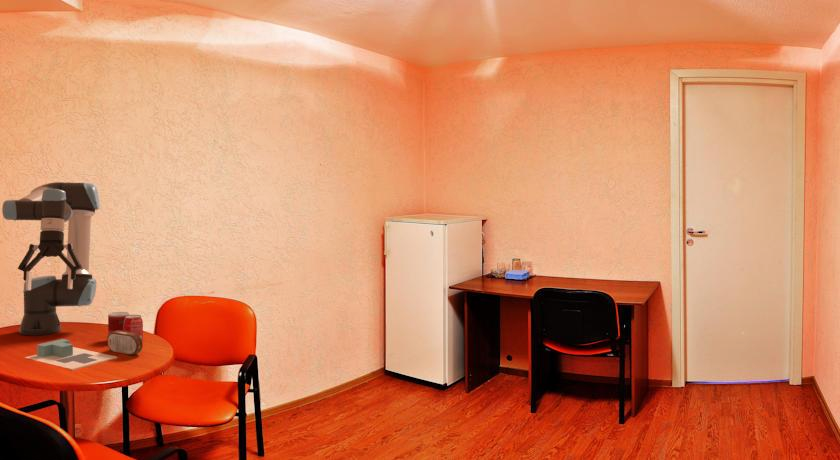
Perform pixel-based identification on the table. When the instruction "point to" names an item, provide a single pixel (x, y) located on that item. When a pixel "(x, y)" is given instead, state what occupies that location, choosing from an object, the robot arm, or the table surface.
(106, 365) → the table surface
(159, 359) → the table surface
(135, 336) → the tin
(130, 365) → the table surface
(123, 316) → the canned food
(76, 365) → the mat
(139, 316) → the soda can
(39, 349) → the t block
